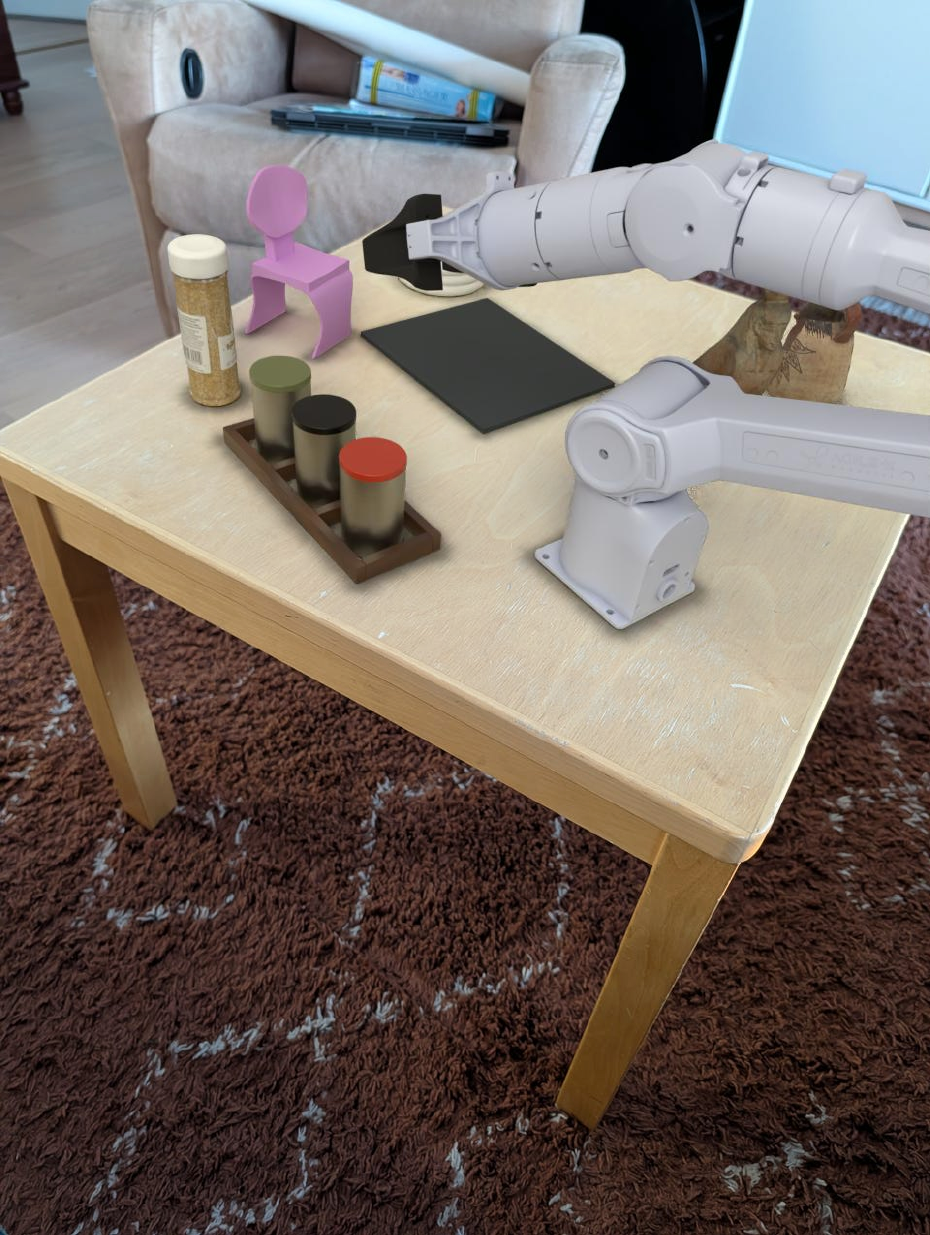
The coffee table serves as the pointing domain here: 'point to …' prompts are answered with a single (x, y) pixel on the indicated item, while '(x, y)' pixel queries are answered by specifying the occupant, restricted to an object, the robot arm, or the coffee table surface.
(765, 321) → the brown carved statuette
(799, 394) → the figurine
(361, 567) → the spice rack
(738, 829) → the coffee table surface
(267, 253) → the toy chair
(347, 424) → the cylinder
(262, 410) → the herb tin
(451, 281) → the cream round stack
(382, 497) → the paprika tin
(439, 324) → the mat
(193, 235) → the sprinkles bottle
